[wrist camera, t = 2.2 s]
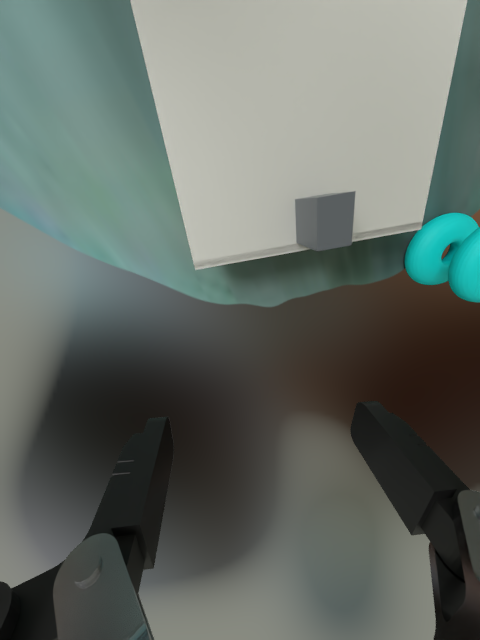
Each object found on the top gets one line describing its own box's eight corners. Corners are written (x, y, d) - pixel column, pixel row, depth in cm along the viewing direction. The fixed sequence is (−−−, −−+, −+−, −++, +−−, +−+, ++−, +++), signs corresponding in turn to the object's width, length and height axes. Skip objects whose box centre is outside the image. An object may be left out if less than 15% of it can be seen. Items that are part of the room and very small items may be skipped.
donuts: (463, 318, 28) (468, 241, 24) (402, 291, 37) (397, 231, 33) (545, 284, 27) (566, 197, 23) (463, 265, 36) (466, 199, 32)
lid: (141, 27, 18) (96, -91, 11) (438, -12, 19) (578, -142, 12) (196, 263, 26) (192, 284, 19) (400, 226, 27) (467, 234, 20)
